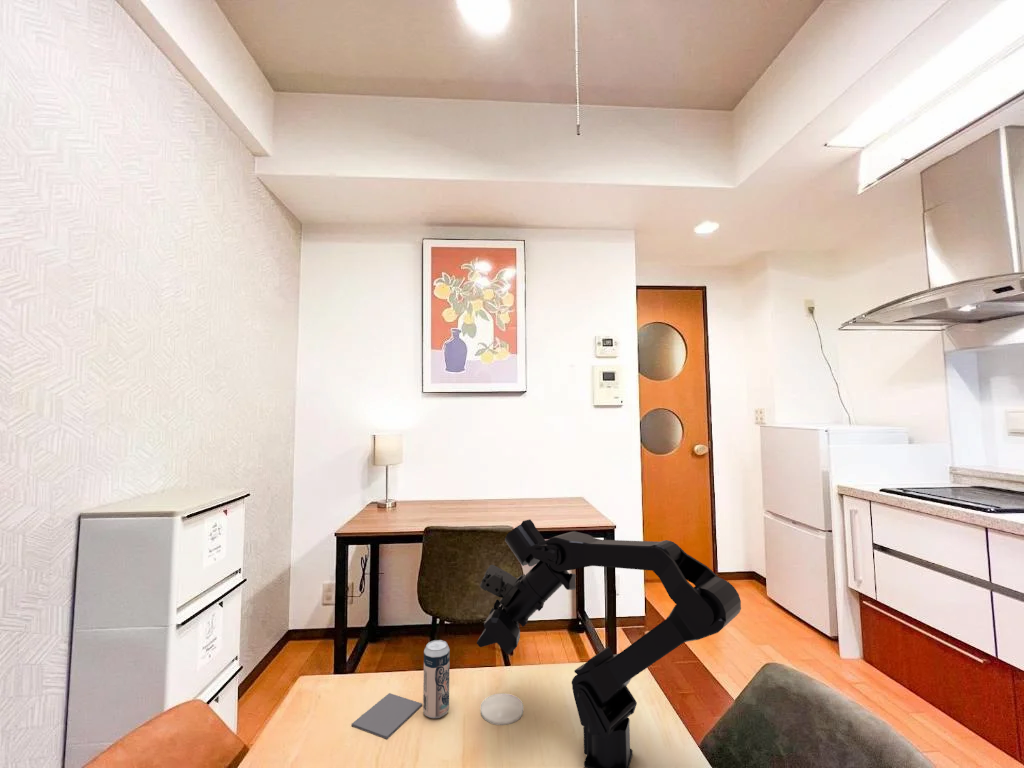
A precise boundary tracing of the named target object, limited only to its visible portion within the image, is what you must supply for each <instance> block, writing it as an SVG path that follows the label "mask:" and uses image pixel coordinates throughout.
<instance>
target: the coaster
mask: <svg viewBox="0 0 1024 768" xmlns="http://www.w3.org/2000/svg"><path fill="white" fill-rule="evenodd" d="M523 714H524V703H523V702H522V700H521V699H520V698H519V697H518V696H516V695H513V694H510V693H504V692H503V693H494V694H492V695H488V696H487V697H486V698H484V700H482V701H481V703H480V716H481V717H482V718H483V720H484V721H485V722H486V723H487V722H488V723H489V724H492V725H497V726H507V725H511V724H514V723H515V722H518V721H519V720H520V719H521V718H522V717H523Z"/></svg>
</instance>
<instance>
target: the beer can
mask: <svg viewBox="0 0 1024 768" xmlns="http://www.w3.org/2000/svg"><path fill="white" fill-rule="evenodd" d="M450 650H451V649H450V646H449V645H448V642H447V641H445V640H442V639H434V640H431V641H428V643H427V644H426V645H425V647H424V650H423V685H422V687H423V690H422V693H423V695H422V700H423V701H422V711H423V712H422V713H423V714H424V716H426V717H428V718H430V719H439V718H442V717H443V716H446V715H447V714H448V712H449V711H450V710H449V709H450V665H451V663H450Z"/></svg>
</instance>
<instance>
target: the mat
mask: <svg viewBox="0 0 1024 768" xmlns="http://www.w3.org/2000/svg"><path fill="white" fill-rule="evenodd" d="M421 708H423V702H419V701H417V700H416V701H415V700H413V699H409V698H406V697H404V696H403V697H402V696H401V695H396V694H393V693H391V692H389V693H387V694H386V695H385V696H384V697H382V698H381V699H380V700H378V701H377V702H376V703H375V704H374V705H373V706H372V707H370V708H369V709H368V710H367V711H365V712H364V713H363V714H362V715H361V716H359V717H358V718H357V719H356V720H355V721H353V722H351V727H353V728H356V729H358V730H361V731H364V732H366V733H368V734H369V733H370V734H372V735H373V736H374V735H375V736H378V737H379V738H383V739H385V740H388V739H389V738H390V737H391V736H392V735H393V734H395V733H396V732H397V730H398V729H399V728H401V726H403V725H404V724H405V723H406V722H407V721H408V720H409V719H410V718H411V717H413V715H414V714H415V713H416V712H417V711H419V710H420V709H421Z"/></svg>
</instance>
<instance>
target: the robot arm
mask: <svg viewBox="0 0 1024 768" xmlns="http://www.w3.org/2000/svg"><path fill="white" fill-rule="evenodd" d="M504 542H505V543H506V544H507V546H508V547H509V549H510V550H511V552H512V553H513V554H514V556H515V558H516V559H517V561H518V562H519V563H520V565H521V566H522V567H524V566H526V565H528V566H529V567H531V569H530V570H529V571H528V572H527V573H526V574H525V573H523V574H521V575H519V576H518V577H517V578H516V577H515V576H514V575H512V574H511V573H509V572H508V571H505V570H504V569H502V568H500V567H498V566H497V565H494V564H490V565H489V566H488V567H487V569H486V571H485V573H484V576H483V577H482V579H481V582H480V584H479V587H480V588H481V589H482V590H483V591H487V592H489V593H490V594H492V595H494V596H496V597H498V598H500V599H496V600H495V602H494V603H493V607H492V608H491V610H490V612H488V613H489V614H488V617H486V619H485V621H484V623H483V627H484V629H483V631H482V633H481V634H480V636H479V638H478V639H477V641H476V644H477V645H478V647H479V648H483V647H486V646H489V645H490V646H491V645H493V644H498V646H499V647H500V648H501V649H502V651H504V653H505V654H506V655H511V653H513V651H515V649H517V647H518V645H519V642H520V638H521V629H520V626H522V627H523V628H524V627H525V626H526V625H527V624H528V620H529V619H530V617H531V616H533V615H534V613H536V611H538V612H540V611H541V610H542V609H543V607H544V604H545V602H546V601H548V599H549V598H551V597H552V595H554V594H555V592H556V591H557V590H559V589H560V588H561V587H562V586H563V587H564V588H565V589H566V590H567V591H575V590H576V588H577V586H576V585H577V584H576V578H577V575H576V573H570V571H572V570H578V569H581V568H586V567H600V568H601V567H602V568H604V567H605V568H617V569H626V570H638V571H639V570H641V571H650V572H651V571H652V572H653V573H654V574H655V575H656V576H657V577H658V578H659V580H660V581H661V584H662V585H663V588H664V589H665V591H666V593H667V594H668V596H669V598H670V599H671V601H673V603H674V607H672V610H671V611H670V613H669V615H668V616H667V617H666V618H665V619H664V620H662V621H661V622H660V623H659V624H657V625H655V627H653V628H652V629H651V630H649V631H648V632H646V633H645V634H644V635H642V636H641V637H639V638H638V639H637V640H635V641H634V642H633V643H631V644H630V645H629V646H628V647H626V648H624V650H622V651H621V652H619V653H616V654H613V651H612V649H611V648H610V646H608V647H606V648H604V649H603V650H601V651H600V652H599V653H597V654H595V655H594V656H592V657H591V658H590V659H589V660H587V661H586V662H585V663H583V664H582V665H580V666H579V667H577V668H575V669H574V673H575V674H576V675H575V676H573V678H572V680H571V685H572V686H571V687H572V688H571V689H572V693H573V699H574V702H575V705H576V709H577V713H578V714H577V715H578V717H579V721H580V726H582V727H583V754H584V755H585V758H584V761H583V765H584V768H630V766H631V765H630V764H631V761H632V758H633V752H634V751H633V749H632V748H631V741H630V740H631V735H630V734H631V733H630V732H631V731H630V718H629V717H630V716H631V715H633V714H634V713H635V710H636V707H637V705H638V704H637V700H636V699H635V697H634V695H633V694H632V692H631V691H630V690H629V688H628V684H629V683H630V681H631V680H632V679H633V678H635V677H636V676H637V675H639V674H641V672H644V671H645V670H646V669H648V668H649V667H650V666H652V665H653V664H655V663H656V662H657V661H659V660H660V659H662V658H664V657H665V656H667V655H668V654H669V653H672V651H674V650H676V649H677V648H678V647H680V646H681V645H682V644H684V643H687V642H692V641H693V642H694V641H699V640H701V639H705V638H708V637H710V636H712V635H715V634H718V633H719V632H720V631H722V629H724V628H725V627H726V626H728V624H729V623H731V621H733V619H735V618H736V617H737V616H738V615H739V614H740V612H741V610H742V605H741V603H742V602H741V597H740V594H739V592H738V591H737V589H736V587H735V586H734V585H732V584H731V582H730V581H727V580H726V579H724V578H722V577H719V576H718V574H716V573H715V572H714V571H713V570H712V569H711V568H709V567H708V566H707V565H706V564H704V563H702V562H701V561H699V560H697V559H696V558H694V557H693V556H691V555H689V554H688V553H687V552H686V551H685V550H683V548H682V547H680V546H679V544H677V543H676V542H674V541H671V540H666V539H665V540H661V541H650V540H646V541H645V540H624V539H623V540H622V539H621V540H619V539H617V540H616V539H615V540H614V539H599V538H595V537H594V536H593V535H590V534H587V533H583V532H578V531H569V532H566V533H562V534H559V535H555V536H553V537H549V538H548V539H545V538H544V536H543V535H542V534H541V533H540V531H539V530H538V529H537V527H536V524H535V523H534V522H533V521H532V519H530V518H529V519H526V520H523V521H522V522H521V523H520V524H519V525H517V526H515V527H514V528H513V529H512V530H511V531H509V532H508V533H507V534H506V536H505V538H504ZM692 584H693V585H694V586H693V585H692Z"/></svg>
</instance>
